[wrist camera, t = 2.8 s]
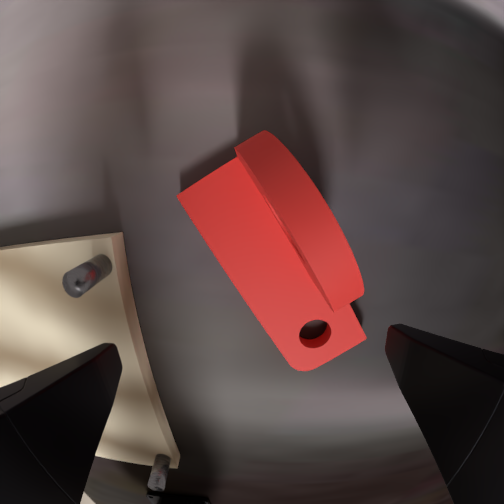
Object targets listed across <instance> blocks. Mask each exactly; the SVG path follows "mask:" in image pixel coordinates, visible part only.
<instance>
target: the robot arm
mask: <svg viewBox="0 0 504 504" xmlns="http://www.w3.org/2000/svg"><path fill="white" fill-rule="evenodd" d="M385 352H386V355H387V358H388V360H389V363H390V365H391V368H392V370H393V373H394V375H395V378H396V381H397V383H398V386H399V388H400V390H401V392H402V394H403V396H404V398H405V400H406V401H407V403H408V405H409V407H410V409H411V411H412V413H413V415H414V417H415V419H416V421H417V423H418V425H419V427H420V429H421V431H422V433H423V435H424V437H425V439H426V442H427V444H428V446H429V448H430V450H431V452H432V454H433V456H434V459H435V461H436V463H437V465H438V467H439V470H440V472H441V474H442V476H443V479H444V481H445V483H446V485H447V488H448V491H449V493H450V495H451V498H452V500H453V503H454V504H504V355H503V354H500V353H496V352H492V351H489V350H485V349H481V348H478V347H475V346H471V345H468V344H465V343H461V342H458V341H455V340H451V339H448V338H445V337H442V336H438V335H435V334H432V333H429V332H425V331H422V330H419V329H416V328H413V327H409V326H406V325H403V324H396V325H391V326H390V327H389V328H388V332H387V339H386V345H385ZM122 369H123V367H122V362H121V359H120V355H119V352H118V349H117V346H116V345H115V344H114V343H102V344H100V345H98V346H95V347H93V348H91V349H89V350H87V351H84V352H82V353H80V354H78V355H75V356H73V357H71V358H69V359H66V360H64V361H62V362H60V363H57V364H55V365H53V366H51V367H48V368H46V369H44V370H41V371H39V372H37V373H34V374H32V375H30V376H28V377H25V378H23V379H20V380H18V381H16V382H13V383H11V384H8V385H6V386H3V387H0V504H80V502H81V498H82V495H83V492H84V488H85V485H86V482H87V479H88V476H89V472H90V469H91V466H92V463H93V460H94V457H95V454H96V451H97V448H98V445H99V443H100V440H101V437H102V434H103V431H104V429H105V426H106V423H107V420H108V418H109V415H110V412H111V410H112V407H113V404H114V400H115V396H116V392H117V389H118V385H119V381H120V377H121V374H122ZM146 497H147V498H148V499H149V501H150V502H151V503H152V504H210V502H209V500H208V499H206V498H199V497H185V496H175V495H166V494H158V493H152V492H147V494H146Z"/></svg>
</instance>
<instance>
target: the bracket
mask: <svg viewBox="0 0 504 504" xmlns="http://www.w3.org/2000/svg"><path fill="white" fill-rule="evenodd" d="M234 149H235V151H236V154H237V157H236V158H234V159H232V160H231V161H229V162H228V163H226V164H224V165H223V166H221V167H220V168H218V169H216V170H215V171H213V172H212V173H210V174H209V175H207V176H205V177H204V178H202V179H201V180H199V181H198V182H196V183H195V184H193V185H192V186H190V187H189V188H187V189H186V190H184V191H183V192H181V193H180V194H178V195H177V198H178V199H179V201H180V203H181V204H182V206H183V207H184V209H185V210H186V212H187V214H188V215H189V217H190V218H191V220H192V221H193V223H194V225H195V226H196V228H197V229H198V231H199V232H200V234H201V235H202V237H203V238H204V240H205V241H206V243H207V245H208V246H209V248H210V249H211V251H212V252H213V254H214V255H215V257H216V258H217V260H218V261H219V263H220V264H221V266H222V267H223V269H224V270H225V272H226V273H227V275H228V276H229V278H230V279H231V281H232V282H233V284H234V285H235V287H236V288H237V290H238V291H239V293H240V294H241V295H242V297H243V298H244V300H245V301H246V303H247V304H248V306H249V307H250V309H251V310H252V312H253V313H254V314H255V316H256V317H257V319H258V320H259V322H260V323H261V325H262V326H263V327H264V329H265V330H266V332H267V333H268V335H269V336H270V338H271V339H272V340H273V342H274V343H275V345H276V346H277V347H278V349H279V350H280V352H281V353H282V355H283V356H284V357H285V359H286V360H287V362H288V363H289V364H290V366H291V367H293V368H294V369H296V370H299V371H309V370H312V369H315V368H317V367H319V366H320V365H322V364H324V363H326V362H328V361H329V360H331V359H333V358H335V357H337V356H338V355H340V354H342V353H343V352H345V351H347V350H349V349H350V348H352V347H354V346H355V345H357V344H359V343H360V342H362V341H363V340H365V339H367V338H366V336H365V334H364V332H363V330H362V328H361V326H360V324H359V322H358V320H357V318H356V316H355V314H354V312H353V310H352V308H351V306H350V304H349V303H351V302H352V301H354V300H356V299H357V298H359V297H360V296H362V295H363V294H364V286H363V281H362V277H361V274H360V271H359V268H358V265H357V263H356V260H355V258H354V255H353V253H352V251H351V248H350V246H349V244H348V242H347V240H346V238H345V236H344V234H343V232H342V230H341V228H340V226H339V224H338V222H337V221H336V219H335V217H334V215H333V213H332V212H331V210H330V208H329V207H328V205H327V203H326V202H325V200H324V198H323V197H322V195H321V194H320V192H319V191H318V189H317V187H316V186H315V184H314V183H313V182H312V180H311V179H310V177H309V176H308V174H307V173H306V172H305V170H304V169H303V168H302V166H301V165H300V164H299V162H298V161H297V160H296V159H295V157H294V156H293V155H292V154H291V153H290V151H289V150H288V149H287V148H286V147H285V146H284V145H283V144H282V143H281V142H280V141H279V140H278V139H277V138H276V137H275V136H274V135H273V134H271V133H270V132H268V131H266V130H263V131H261V132H260V133H258V134H256V135H254V136H253V137H251V138H249V139H248V140H246V141H244V142H243V143H241V144H239V145H237V146H236V147H234ZM312 320H323V321H325V322H327V327H326V330H325V331H324V333H323V334H322V335H321V336H319V337H317V338H315V339H304V338H302V337H301V336H299V333H300V330H301V328H302V327H303V326H304V325H305V324H306V323H307V322H309V321H312Z"/></svg>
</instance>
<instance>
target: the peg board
mask: <svg viewBox="0 0 504 504" xmlns="http://www.w3.org/2000/svg"><path fill="white" fill-rule="evenodd" d="M102 343H114V344H115V345H116V346H117V349H118V352H119V355H120V359H121V362H122V367H123V369H122V374H121V377H120V381H119V385H118V389H117V392H116V396H115V400H114V404H113V407H112V410H111V412H110V415H109V418H108V420H107V423H106V426H105V429H104V431H103V434H102V437H101V440H100V443H99V445H98V448H97V451H96V454H95V456H99V457H104V458H108V459H113V460H118V461H124V462H129V463H135V464H142V465H149V466H153V467H152V471H151V474H150V478H149V481H148V485H147V486H148V487H149V488H150V489H152V490H154V491H159V492H161V491H164V489H165V484H166V480H167V475H168V471H169V468H177V469H178V464H179V459H180V453H179V450H178V448H177V445H176V443H175V440H174V437H173V435H172V432H171V429H170V427H169V424H168V421H167V418H166V415H165V412H164V409H163V406H162V403H161V400H160V397H159V394H158V391H157V388H156V384H155V381H154V378H153V374H152V371H151V367H150V364H149V360H148V356H147V353H146V349H145V345H144V341H143V337H142V333H141V329H140V325H139V320H138V316H137V311H136V307H135V302H134V297H133V292H132V287H131V281H130V276H129V270H128V264H127V258H126V252H125V245H124V238H123V232H119V233H109V234H100V235H91V236H82V237H73V238H65V239H57V240H49V241H41V242H33V243H26V244H18V245H11V246H4V247H0V387H3V386H6V385H8V384H11V383H13V382H16V381H18V380H20V379H23V378H25V377H28V376H30V375H32V374H34V373H37V372H39V371H41V370H44V369H46V368H48V367H51V366H53V365H55V364H57V363H60V362H62V361H64V360H66V359H69V358H71V357H73V356H75V355H78V354H80V353H82V352H84V351H87V350H89V349H91V348H93V347H95V346H98V345H100V344H102Z"/></svg>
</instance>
